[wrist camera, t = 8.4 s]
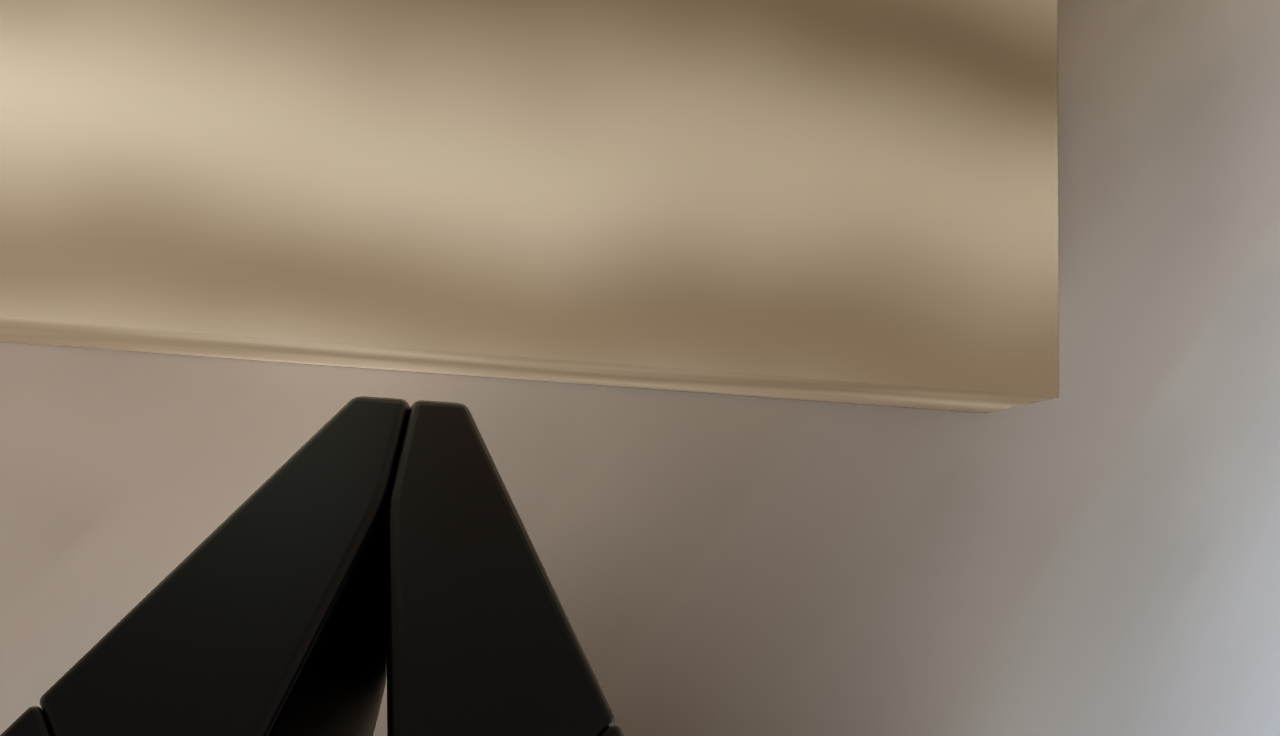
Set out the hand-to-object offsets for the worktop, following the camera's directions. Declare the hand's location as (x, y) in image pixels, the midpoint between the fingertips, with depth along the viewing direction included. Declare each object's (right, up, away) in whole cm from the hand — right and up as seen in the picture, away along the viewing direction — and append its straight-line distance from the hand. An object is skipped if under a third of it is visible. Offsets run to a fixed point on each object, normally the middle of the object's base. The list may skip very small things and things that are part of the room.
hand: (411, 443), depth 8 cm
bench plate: (-1, +7, +14) cm, 16 cm away
